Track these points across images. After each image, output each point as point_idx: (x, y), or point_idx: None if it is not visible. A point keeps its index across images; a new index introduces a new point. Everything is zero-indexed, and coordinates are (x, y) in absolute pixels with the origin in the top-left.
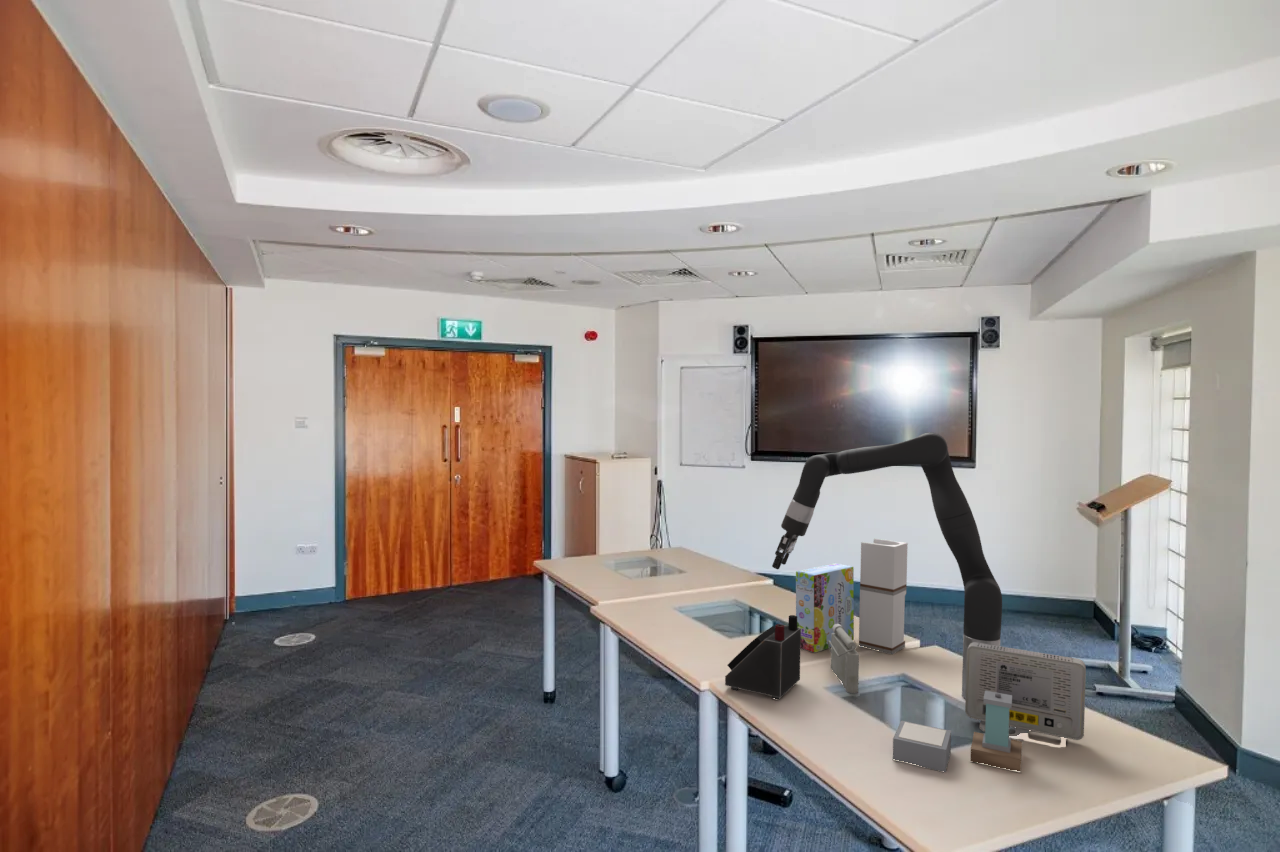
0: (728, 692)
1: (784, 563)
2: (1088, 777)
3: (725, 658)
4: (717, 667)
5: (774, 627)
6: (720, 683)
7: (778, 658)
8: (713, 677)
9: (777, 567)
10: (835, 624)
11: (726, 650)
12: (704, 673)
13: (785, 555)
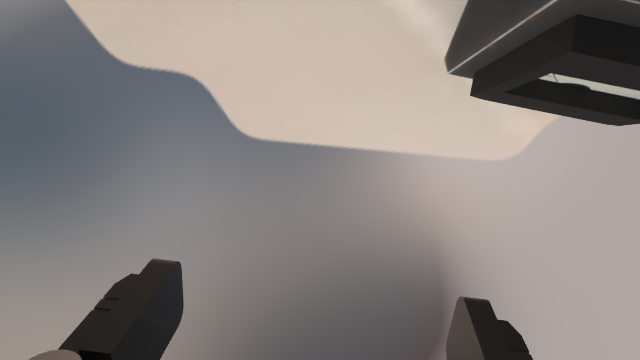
0: None
1: (174, 272)
2: None
3: (334, 128)
4: (417, 134)
5: (576, 40)
6: None
7: None
8: (502, 130)
9: (510, 325)
10: None
11: (266, 136)
12: (474, 153)
13: (133, 356)
